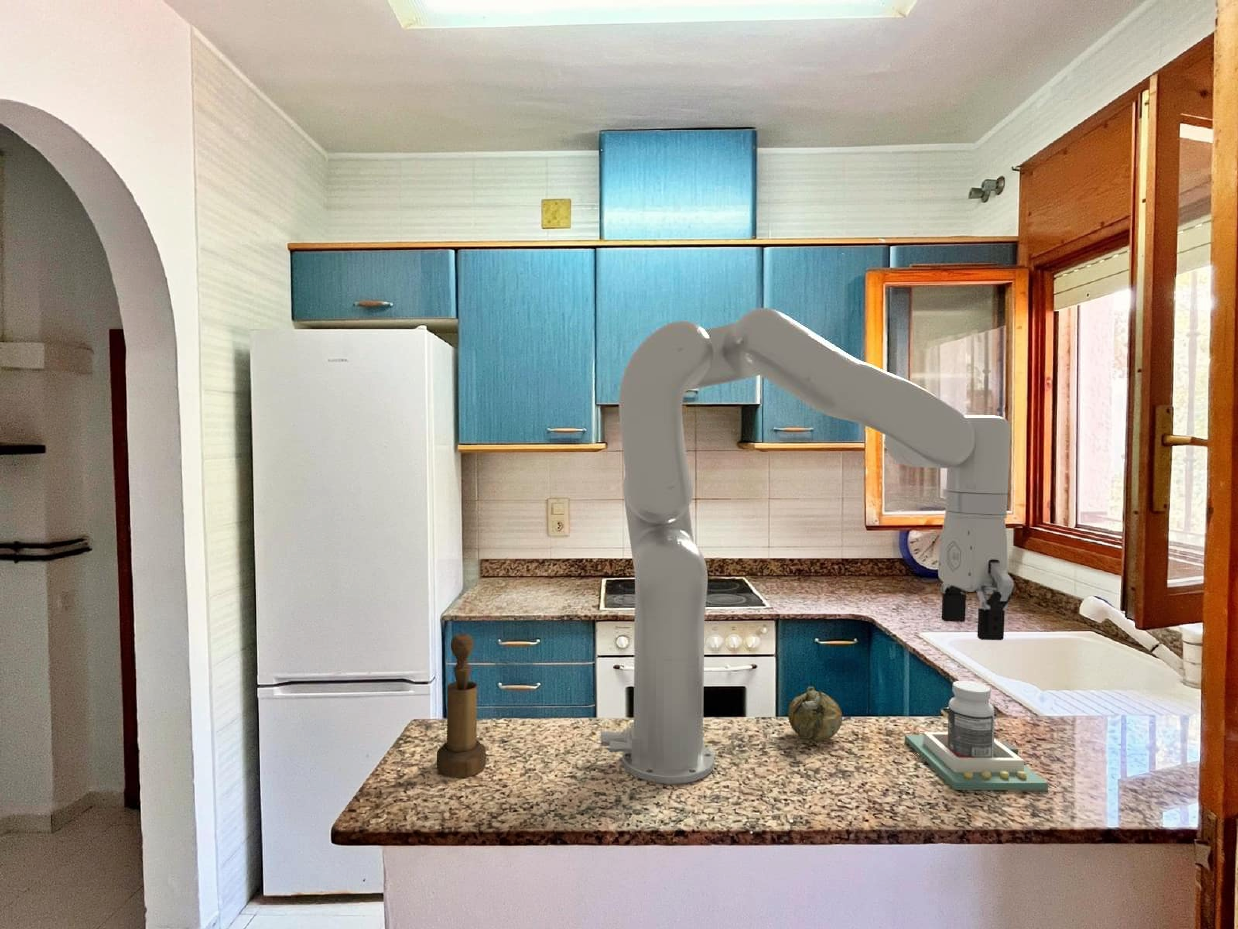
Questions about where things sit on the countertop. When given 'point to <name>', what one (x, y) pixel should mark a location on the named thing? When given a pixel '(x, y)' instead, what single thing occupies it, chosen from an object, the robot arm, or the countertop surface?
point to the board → (976, 765)
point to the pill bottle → (971, 721)
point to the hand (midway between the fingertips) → (970, 629)
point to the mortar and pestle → (461, 719)
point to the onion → (815, 716)
